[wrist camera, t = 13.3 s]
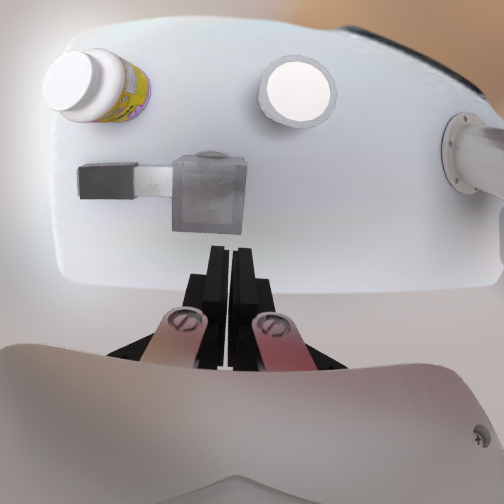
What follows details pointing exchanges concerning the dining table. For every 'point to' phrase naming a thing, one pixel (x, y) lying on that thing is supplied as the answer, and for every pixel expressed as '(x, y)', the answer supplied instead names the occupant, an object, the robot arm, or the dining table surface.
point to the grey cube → (208, 194)
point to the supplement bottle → (95, 87)
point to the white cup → (297, 92)
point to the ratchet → (128, 179)
